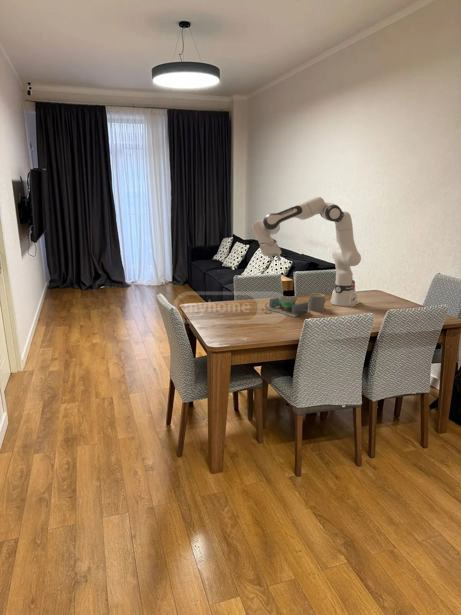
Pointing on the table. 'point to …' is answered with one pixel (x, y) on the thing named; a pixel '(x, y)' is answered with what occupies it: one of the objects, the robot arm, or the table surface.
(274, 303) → the vise free jaw
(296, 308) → the vise
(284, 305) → the food container
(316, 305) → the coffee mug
